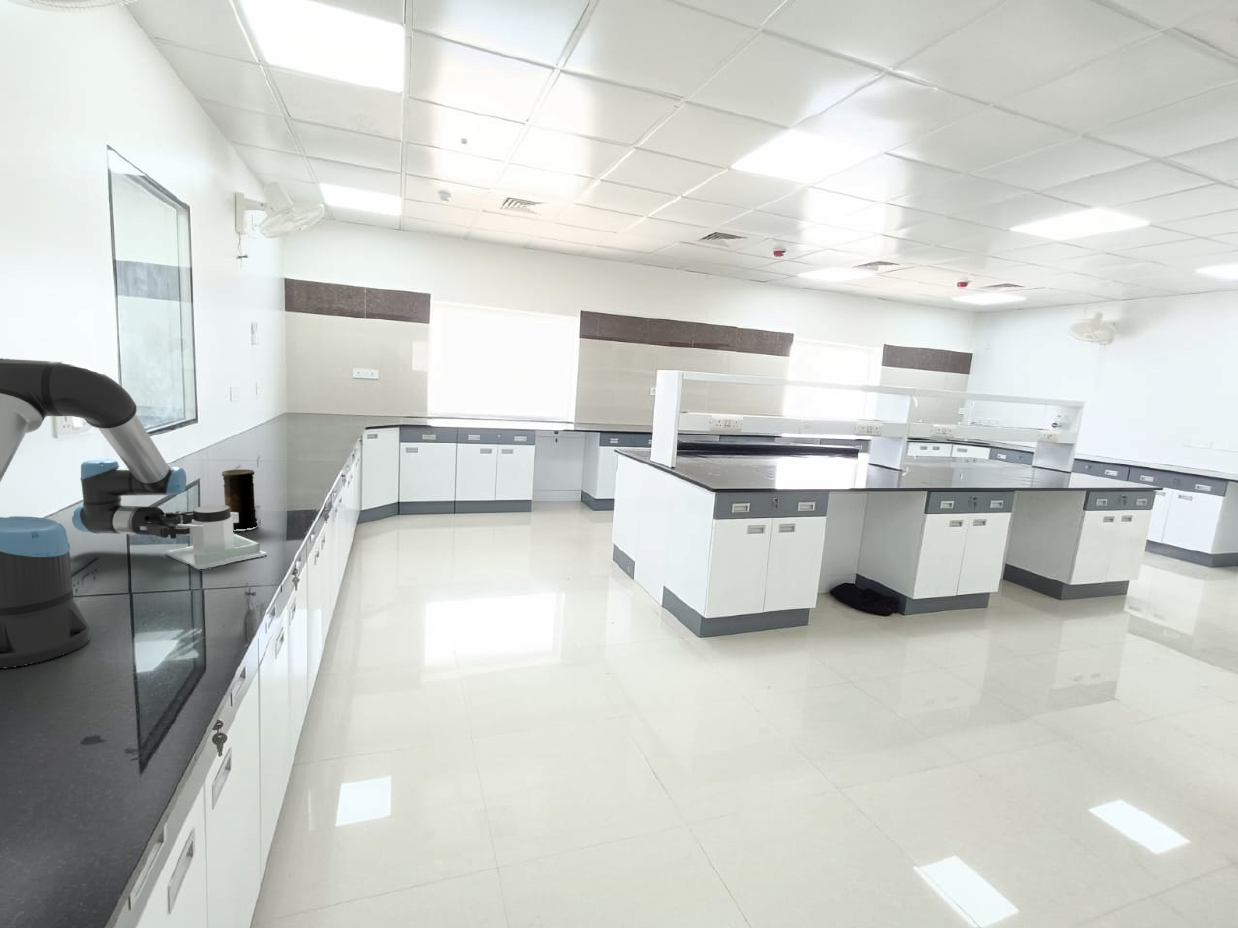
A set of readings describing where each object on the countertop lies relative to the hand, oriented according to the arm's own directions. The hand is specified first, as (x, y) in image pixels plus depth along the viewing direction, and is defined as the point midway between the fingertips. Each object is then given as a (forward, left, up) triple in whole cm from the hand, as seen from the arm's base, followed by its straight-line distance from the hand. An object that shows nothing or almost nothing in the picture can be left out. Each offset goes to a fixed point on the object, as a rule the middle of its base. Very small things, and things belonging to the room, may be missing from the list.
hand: (221, 523), depth 157 cm
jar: (+1, +2, -8) cm, 8 cm away
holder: (+2, +1, -9) cm, 9 cm away
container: (+24, -15, -9) cm, 29 cm away
